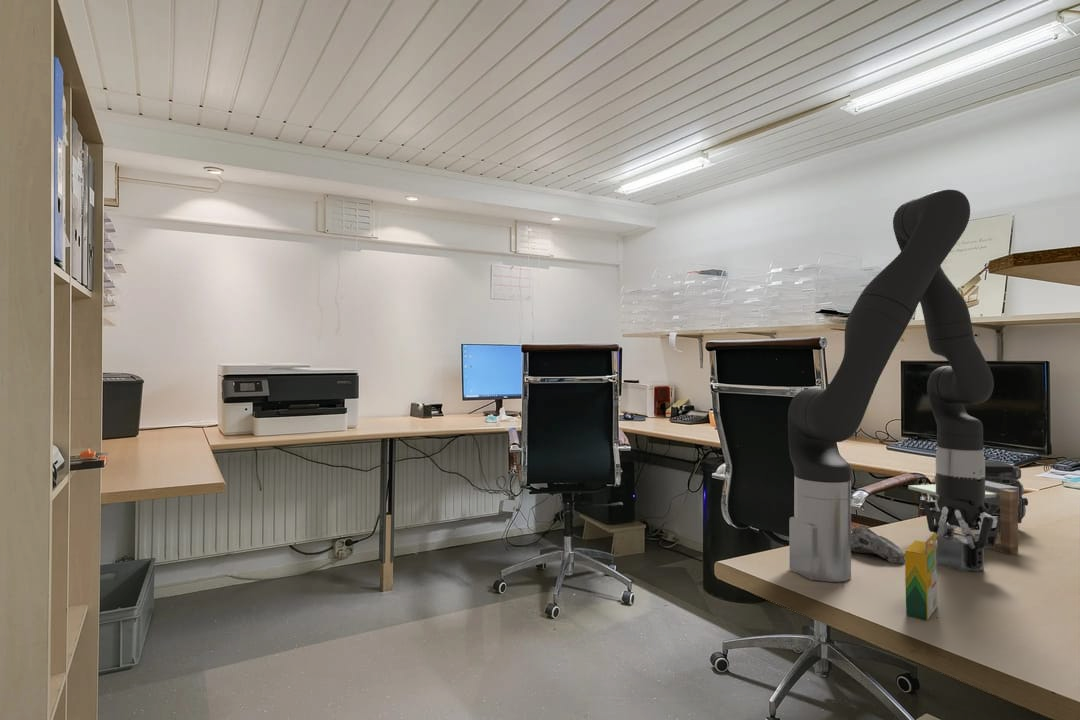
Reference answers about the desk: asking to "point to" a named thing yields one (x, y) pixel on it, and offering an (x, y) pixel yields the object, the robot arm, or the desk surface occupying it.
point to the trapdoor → (990, 491)
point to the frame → (1005, 522)
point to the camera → (1005, 476)
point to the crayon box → (921, 578)
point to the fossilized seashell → (875, 545)
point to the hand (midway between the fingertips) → (960, 562)
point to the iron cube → (954, 552)
